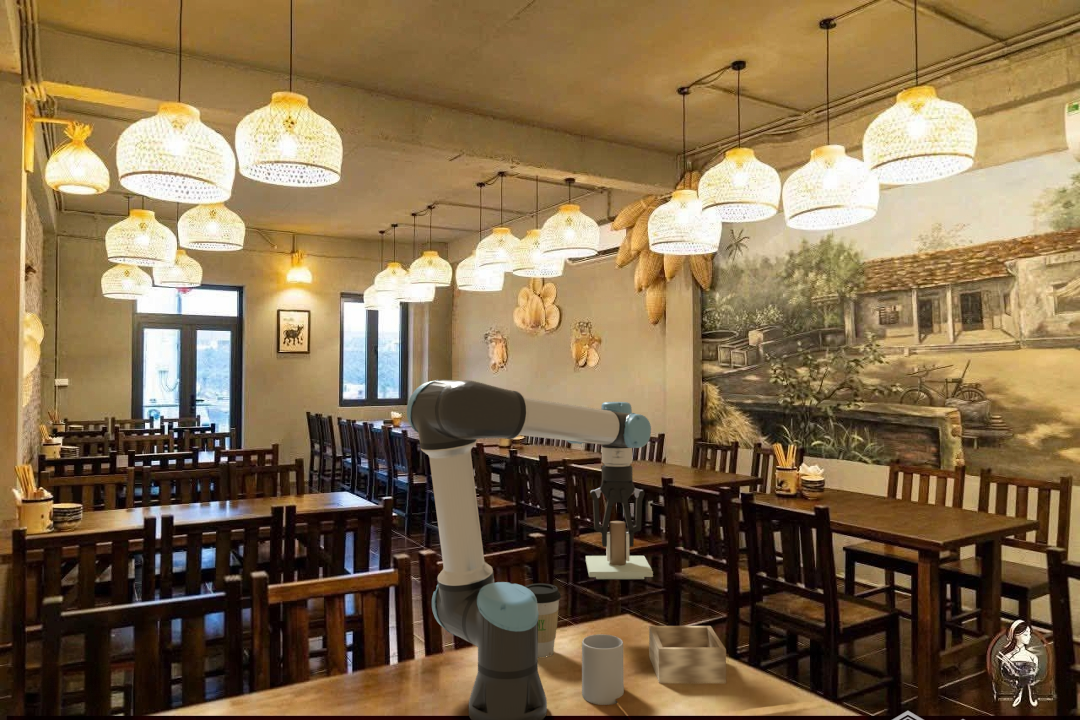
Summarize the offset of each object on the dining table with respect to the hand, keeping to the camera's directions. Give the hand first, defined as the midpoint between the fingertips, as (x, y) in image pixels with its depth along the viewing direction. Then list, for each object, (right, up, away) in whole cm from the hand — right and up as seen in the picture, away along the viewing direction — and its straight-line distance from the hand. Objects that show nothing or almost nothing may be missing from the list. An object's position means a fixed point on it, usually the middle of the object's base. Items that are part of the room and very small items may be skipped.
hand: (617, 559), depth 176 cm
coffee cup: (-19, -20, -7) cm, 29 cm away
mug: (-6, -20, -29) cm, 35 cm away
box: (+13, -20, -20) cm, 31 cm away
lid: (0, -3, 0) cm, 3 cm away
